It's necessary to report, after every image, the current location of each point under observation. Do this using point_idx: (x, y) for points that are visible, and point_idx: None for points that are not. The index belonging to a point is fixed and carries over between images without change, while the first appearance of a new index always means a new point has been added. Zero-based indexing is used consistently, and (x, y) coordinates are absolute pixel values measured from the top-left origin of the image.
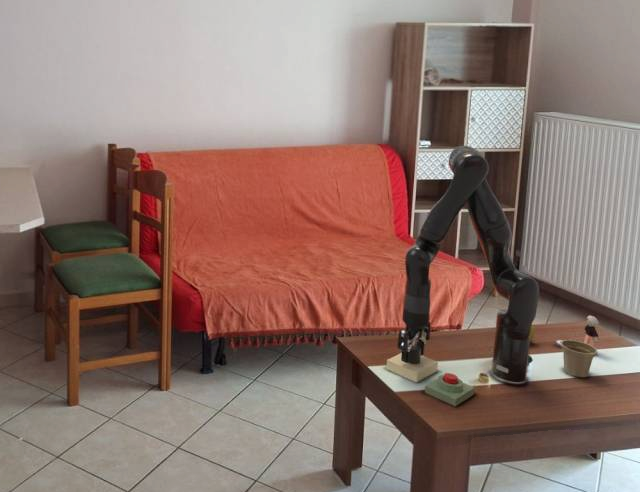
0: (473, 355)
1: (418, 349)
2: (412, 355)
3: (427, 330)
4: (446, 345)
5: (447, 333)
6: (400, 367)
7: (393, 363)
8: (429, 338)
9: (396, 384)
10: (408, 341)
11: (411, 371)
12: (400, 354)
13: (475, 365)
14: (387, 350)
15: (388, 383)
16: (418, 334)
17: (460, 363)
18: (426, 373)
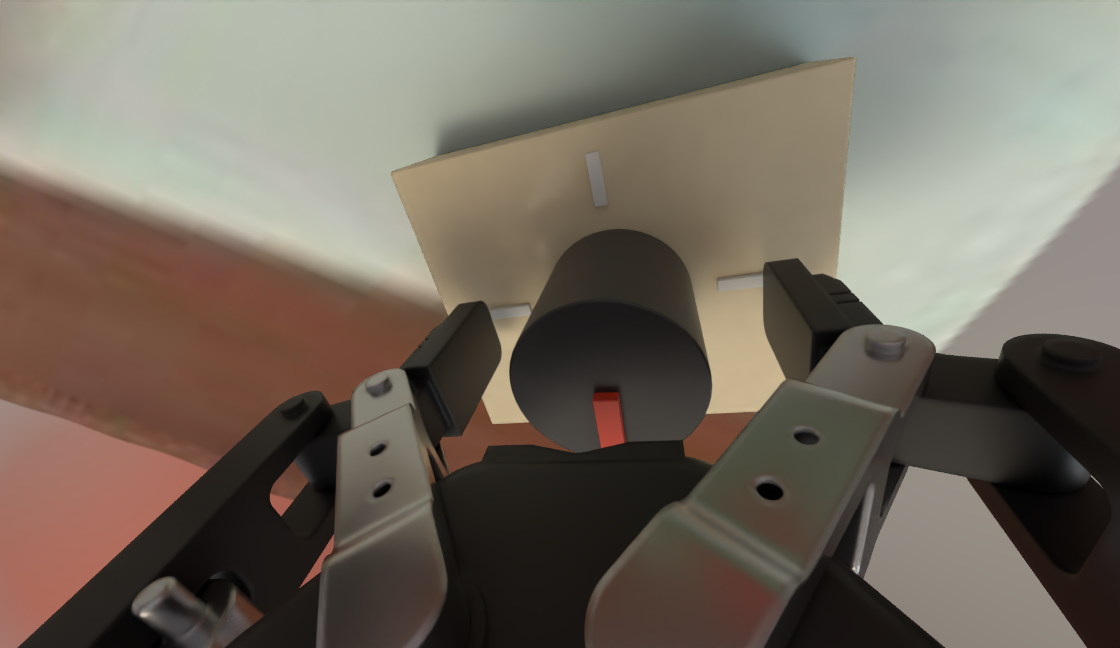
0: (52, 217)
1: (603, 316)
2: (691, 301)
3: (209, 533)
4: (179, 367)
5: (126, 432)
6: (831, 273)
7: None
8: (279, 406)
9: (1047, 125)
10: (879, 496)
11: (845, 143)
12: None
13: (78, 96)
14: None
15: (1093, 178)
16: (658, 591)
17: (183, 172)
18: (611, 113)
